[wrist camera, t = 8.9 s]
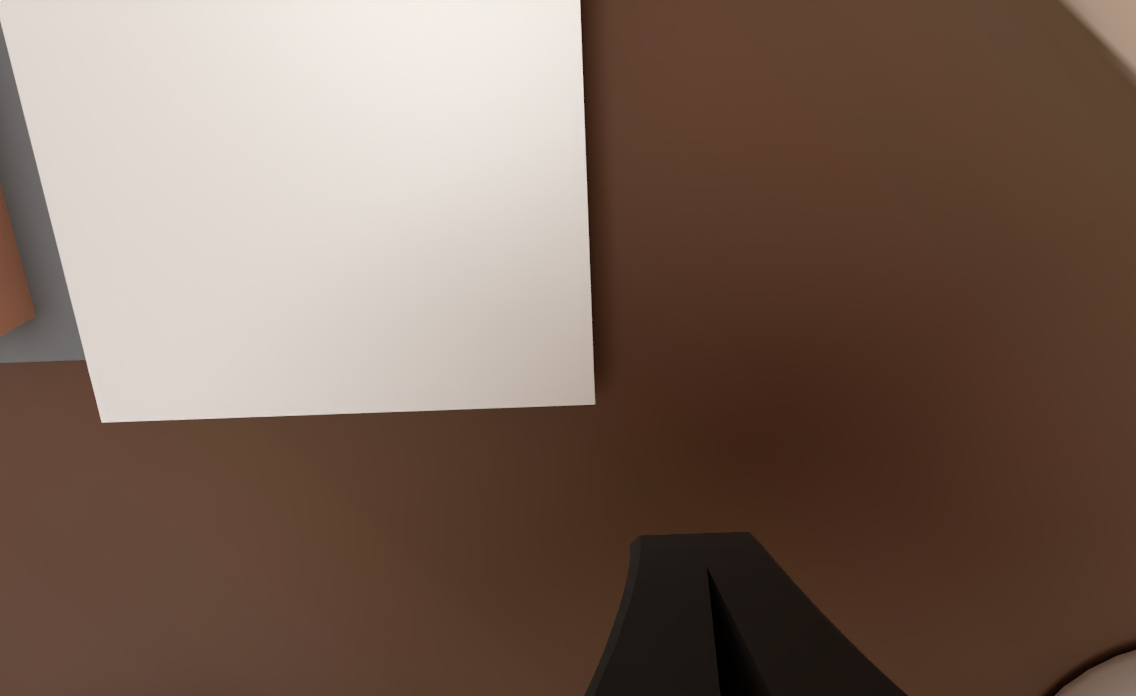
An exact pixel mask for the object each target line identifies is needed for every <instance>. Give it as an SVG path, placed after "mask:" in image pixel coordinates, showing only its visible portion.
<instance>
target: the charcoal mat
mask: <svg viewBox="0 0 1136 696" xmlns="http://www.w3.org/2000/svg"><path fill="white" fill-rule="evenodd" d="M0 184H1V187H2V191H3V195H4V199H5V202H6V206H7V210H8V214H9V217H10V221H11V225H12V228H13V232H14V236H15V240H16V243H17V247H18V251H19V255H20V258H21V262H22V266H23V269H24V273H25V277H26V281H27V284H28V288H29V292H30V296H31V299H32V303H33V307H34V311H35V314H36V317H34V318H33V319H31V320H29V321H27V322H26V323H24V324H22V325H20V326H18V327H17V328H15V329H13V330H11V331H10V332H8V333H6V334H4V335H3V336H1V337H0V363H14V362H40V361H66V360H86V358H85V354H84V350H83V346H82V342H81V338H80V334H79V331H78V327H77V323H76V319H75V315H74V311H73V307H72V303H71V299H70V295H69V291H68V287H67V283H66V279H65V275H64V271H63V267H62V263H61V259H60V255H59V251H58V247H57V243H56V239H55V235H54V231H53V228H52V224H51V220H50V216H49V212H48V208H47V204H46V200H45V196H44V192H43V188H42V184H41V180H40V176H39V172H38V168H37V164H36V160H35V156H34V152H33V148H32V144H31V140H30V136H29V132H28V129H27V125H26V121H25V117H24V113H23V109H22V105H21V101H20V97H19V93H18V89H17V85H16V81H15V77H14V73H13V69H12V65H11V61H10V57H9V53H8V49H7V45H6V41H5V37H4V33H3V30H2V26H1V22H0Z"/></svg>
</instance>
